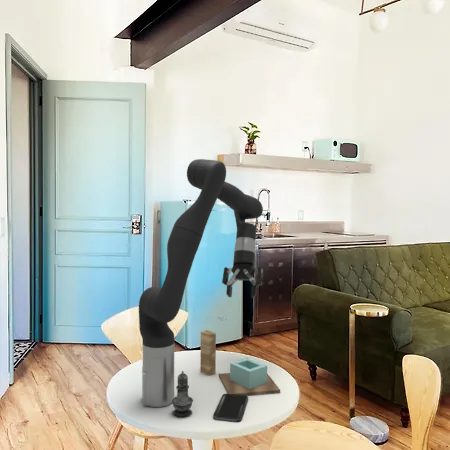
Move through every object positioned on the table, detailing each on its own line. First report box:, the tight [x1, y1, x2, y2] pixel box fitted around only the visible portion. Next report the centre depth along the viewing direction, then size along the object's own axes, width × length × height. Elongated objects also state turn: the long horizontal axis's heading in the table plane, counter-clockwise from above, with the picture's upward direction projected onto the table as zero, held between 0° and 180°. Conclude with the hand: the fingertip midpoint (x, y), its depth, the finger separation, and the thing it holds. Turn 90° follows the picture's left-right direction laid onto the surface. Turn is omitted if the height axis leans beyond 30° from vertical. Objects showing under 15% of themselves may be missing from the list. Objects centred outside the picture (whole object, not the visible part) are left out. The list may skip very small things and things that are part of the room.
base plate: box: [218, 372, 281, 397], centre depth 145 cm, size 16×16×1 cm
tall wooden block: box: [199, 329, 217, 377], centre depth 154 cm, size 3×4×14 cm, turn 40°
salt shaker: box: [171, 370, 194, 419], centre depth 125 cm, size 6×6×12 cm
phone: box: [212, 393, 249, 423], centre depth 128 cm, size 8×1×15 cm
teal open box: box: [229, 357, 268, 389], centre depth 144 cm, size 8×9×6 cm
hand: (241, 297), depth 155 cm, fingers open, 8 cm apart
